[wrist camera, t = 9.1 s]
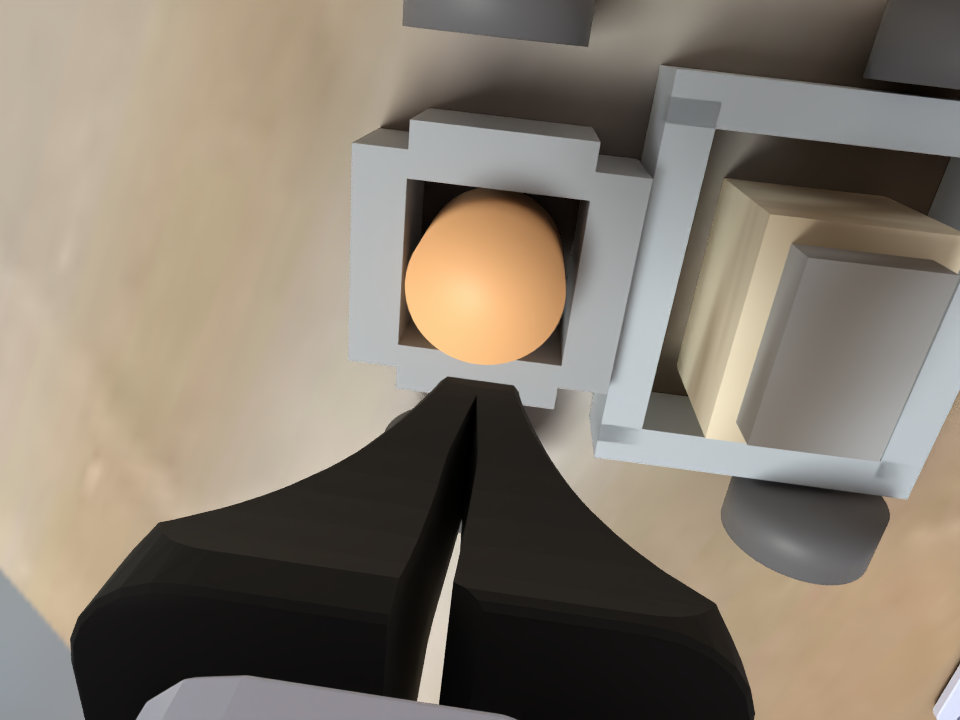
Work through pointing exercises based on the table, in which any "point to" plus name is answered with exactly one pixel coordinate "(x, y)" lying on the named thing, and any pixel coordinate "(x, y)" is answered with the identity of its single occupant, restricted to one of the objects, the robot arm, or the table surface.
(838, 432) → the two-tone stepped block
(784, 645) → the table surface
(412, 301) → the orange rounded peg
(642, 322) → the frame
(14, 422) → the table surface
